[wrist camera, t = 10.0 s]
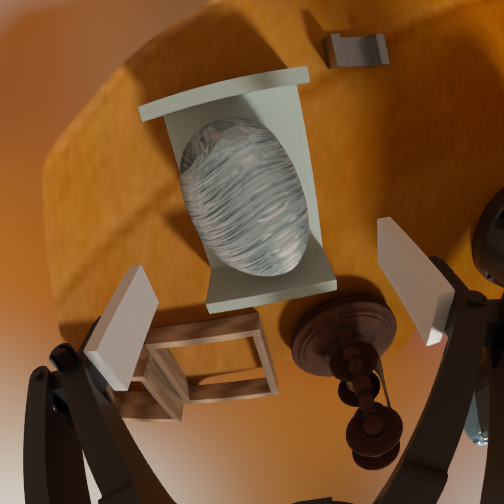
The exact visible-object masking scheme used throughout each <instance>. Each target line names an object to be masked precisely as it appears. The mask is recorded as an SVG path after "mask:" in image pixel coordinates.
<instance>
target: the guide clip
mask: <svg viewBox="0 0 504 504" xmlns="http://www.w3.org/2000/svg"><path fill="white" fill-rule="evenodd" d="M322 43H323V47H324V51H325V56H326V60H327V65H328V69H330V68H343V67H362V66H380V65H388V64H390V62H389V57H388V52H387V47H386V43H385V38H384V34H381V33H375V34H372V35H370V36H367V37H340V34H330V35H328V36H327V37H325V38H324V39H322Z"/></svg>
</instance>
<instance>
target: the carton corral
mask: <svg viewBox="0 0 504 504" xmlns="http://www.w3.org/2000/svg"><path fill="white" fill-rule="evenodd" d="M131 381H141V382H142V383H143V385H144V386H145V387H146V388H147V390H148V391H115V390H114V389H113V388H112V387H111V386H110V384H109V383H108V385H107V388H106V390H107V391H108V392H109V393H110V395H111V397H112V399H113V401H114V403H115V405H116V407H117V409H118V411H119V413H120V415H121V417H122V419H123V421H145V422H181V419H182V412H183V405H184V400H183V399H182V397H181V396H180V395H179V393H178V392H177V390H176V389H175V388H174V386H173V385H172V384H171V382H170V381H169V379H168V378H167V377H166V375H165V374H164V372H163V371H162V369H161V368H160V366H159V365H158V364H157V362H156V361H155V359H154V358H153V356H152V355H151V353H150V351H149V350H148V348H147V347H146V345H143V347H142V349H141V352H140V355H139V358H138V361H137V364H136V367H135V370H134V373H133V376H132V379H131Z"/></svg>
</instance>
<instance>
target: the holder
mask: <svg viewBox="0 0 504 504" xmlns="http://www.w3.org/2000/svg"><path fill="white" fill-rule="evenodd" d="M308 82H310V78H309V73H308V69H307V66H303V67H295V68H288V69H281V70H275V71H269V72H264V73H258V74H253V75H248V76H243V77H238V78H234V79H229V80H225V81H221V82H217V83H213V84H209V85H205V86H201V87H198V88H194V89H191V90H187V91H184V92H181V93H177V94H174V95H171V96H168V97H165V98H162V99H159V100H156V101H153V102H150V103H147V104H145V105H142V106H139V107H138V108H139V112H140V115H141V119H142V122H144V121H147V120H150V119H154V118H157V117H160V116H163V117H164V120H165V124H166V127H167V131H168V134H169V138H170V141H171V145H172V148H173V152H174V155H175V158H176V162H177V165H178V168H179V170H180V161H181V157H182V153H183V150H184V148H185V146H186V144H187V142H188V141H189V140H190V138H191V137H192V136H193V135H194V134H195V133H196V132H197V131H199V130H200V129H201V128H202V127H204V126H206V125H208V124H210V123H212V122H215V121H218V120H221V119H227V118H243V119H248V120H252V121H256V122H258V123H260V124H261V125H263V126H265V127H266V128H267V129H269V130H270V131H271V132H272V133H273V134H274V135H275V136H276V138H277V139H278V141H279V142H280V143H281V145H282V146H283V148H284V149H285V150H286V152H287V154H288V156H289V158H290V160H291V161H292V163H293V165H294V167H295V170H296V172H297V175H298V177H299V179H300V182H301V185H302V189H303V192H304V195H305V199H306V203H307V209H308V216H309V234H308V241H307V245H306V249H305V251H304V254H303V256H302V258H301V260H300V261H299V263H298V264H297V265H296V266H295V267H294V268H293V269H292V270H291V271H289V272H286V273H284V274H281V275H276V276H258V275H252V274H248V273H245V272H242V271H239V270H237V269H235V268H232V267H231V266H229V265H227V264H226V263H224V262H223V261H221V260H220V259H219V258H218V257H217V256H216V255H215V254H214V253H213V252H212V251H211V250H210V249H209V248H208V247H207V245H206V244H205V243H204V242H203V240H202V239H201V241H202V244H203V247H204V250H205V252H206V255H207V258H208V261H209V264H210V267H211V274H210V281H209V287H208V293H207V299H206V306H207V309H208V311H209V314H212V313H218V312H224V311H230V310H236V309H242V308H248V307H254V306H259V305H265V304H270V303H275V302H280V301H286V300H291V299H296V298H301V297H306V296H311V295H315V294H320V293H325V292H330V291H334V290H337V280H336V277H335V275H334V273H333V270H332V268H331V266H330V263H329V261H328V259H327V257H326V254H325V252H324V250H323V248H322V240H321V231H320V223H319V215H318V207H317V200H316V193H315V186H314V179H313V172H312V166H311V160H310V154H309V148H308V142H307V136H306V131H305V125H304V120H303V115H302V110H301V104H300V99H299V95H298V90H297V84H302V83H308ZM200 238H201V237H200Z"/></svg>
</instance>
